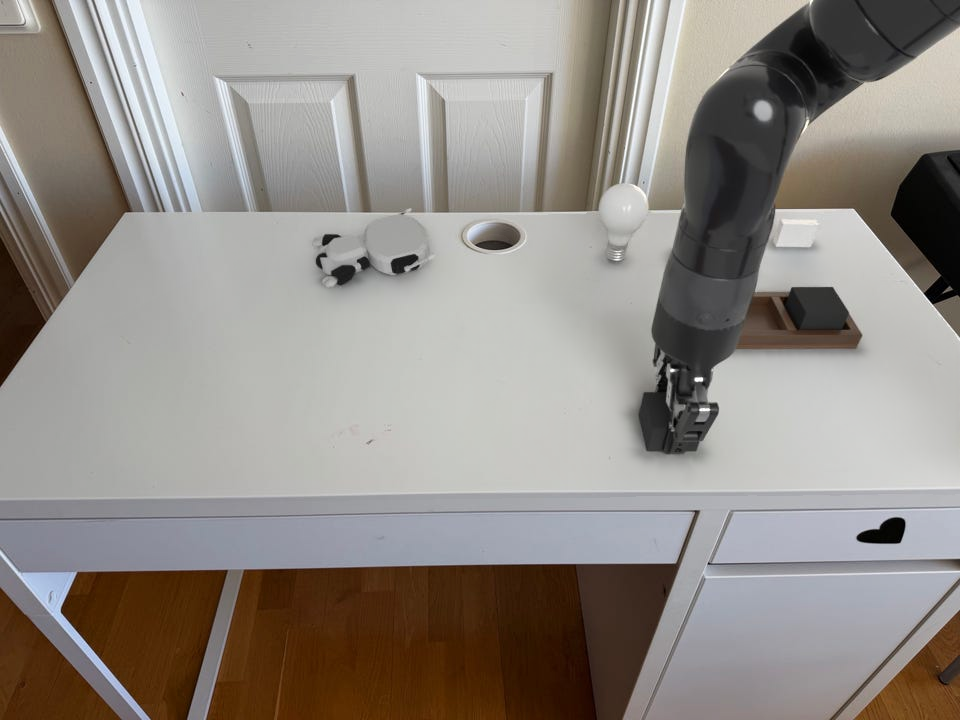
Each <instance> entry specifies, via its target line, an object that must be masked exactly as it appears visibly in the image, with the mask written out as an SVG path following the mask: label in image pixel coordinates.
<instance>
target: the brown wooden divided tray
mask: <svg viewBox="0 0 960 720" xmlns="http://www.w3.org/2000/svg"><path fill="white" fill-rule="evenodd" d="M789 293H790V291H755V293H754V296H753V299H752V302H751V305H750V308H749V311H748V314H747V317H746V320H745V323H744V325H743V328H742V331H741V334H740V337H739V340H738V343H737V346H736V349H735V350H806V349H807V350H813V349H814V350H819V349H820V350H825V349H827V350H829V349H830V350H831V349H833V350H837V349H839V350H841V349H843V350H844V349H845V350H846V349H849V350H850V349H851V350H853V349H854V350H855V349H857V348H858V346H859V344H860V342H861V340H862V338H863V333H862V332H861V330H860V329H859V327H858V325H857V324H856V322H855V321H854V319H853V318H852V316H851V314H850V313H849V315H848V317H847V319H846V321H845V323H844V325H843V328H842V330H796V328H795V326H794V324H793V322H792V320H791V319H790V317H789V315H788V313H787V311H786V309H785V307H784V306H785V303H786V301H787V298H788V296H789Z"/></svg>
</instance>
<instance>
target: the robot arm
mask: <svg viewBox="0 0 960 720" xmlns="http://www.w3.org/2000/svg"><path fill="white" fill-rule="evenodd" d="M959 28H960V0H809V2H807V3H806V4H804V5H803V6H802V7H800V8H799V9H797V10H796V11H795V12H793V13H792V14H791V15H790V16H788V17H787V18H786V19H785V20H783V21H782V22H780V23H779V24H778V25H777V26H775V27H774V28H772V29H771V31H770V32H768V33H767V34H766V35H764V36H763V37H762V38H761V39H759V40H758V41H757V42H756V43H755V44H753V45H752V46H751V47H749V48H748V49H747V50H746V51H745V52H743V54H742V55H740V56H739V57H738V58H737V59H735V61H734V62H732V63H731V65H730V66H728V68H727V69H726V70H724V72H722V74H720V76H719V77H718V78H717V79H716V80H715V81H714V82H713V83H712V84H711V85H710V86H709V88H708V89H707V90H706V91H705V93H704V94H703V95H702V97H701V98H700V100H699V102H698V104H697V106H696V108H695V110H694V113H693V116H692V119H691V123H690V127H689V130H688V135H687V141H686V147H685V154H684V173H683V174H684V176H683V195H684V196H683V197H684V201H683V203H682V207H681V210H680V214H679V217H678V222H677V226H676V230H675V235H674V239H673V242H672V243H673V244H672V248H671V252H670V254H669V256H668V259H667V262H666V264H665V267H664V270H663V275H662V279H661V284H660V288H659V293H658V298H657V302H656V306H655V310H654V314H653V315H654V316H653V319H652V323H651V329H650V330H651V337H652V340H653V342H654V345H655V346H654V349H653V350H654V351H653V357H652V364H653V368H656V372H655V375H654V380H655V383H656V385H655V390H654V392H667V395H666V404H667V406H668V407H669V409H670V415H669V423H668V427H667V431H666V435H665V438H664V442H663V446H662V448H663V451H662V452H663V454H665V455H684V454H685V453H686V452H687V451H686V449H687V446H688V443H689V442H697V441H700V442H703V441H704V440H705V438H706V436H707V435H708V433H709V432H710V429H711V428H712V426H713V424H714V423H715V422H716V419H717V417H718V416H719V412H720V406H719V403H718V401H717V402H716V401H714V402H713V401H709V400H708V394H709V393H708V392H709V388H710V385H711V383H712V381H713V376H714V368H715V367H717V366H718V365H720V364H721V363H723V362H724V361H726V360H727V359H729V358H730V357H732V355H733V354H734V352H735V351H736V350H737V349H736V346H737V343H738V340H739V337H740V334H741V331H742V328H743V325H744V323H745V320H746V317H747V314H748V311H749V308H750V305H751V302H752V299H753V296H754V293H755V292H756V288H757V285H758V279H759V272H760V268H761V263H762V261H763V258H764V255H765V252H766V250H767V246H768V243H769V241H770V237H771V234H772V232H773V227H774V223H775V219H776V203H775V200H776V197H777V195H778V192H779V188H780V186H781V182H782V179H783V177H784V174H785V172H786V170H787V169H786V168H787V166H788V163H789V161H790V159H791V157H792V154H793V152H794V149H795V147H796V145H797V143H798V142H799V140H800V138H801V137H802V136H803V133H804V132H805V130H806V129H807V127H808V126H809V125H811V124H812V123H813V122H814V121H815V120H817V119H818V118H819V117H820V116H821V115H822V114H824V113H825V112H826V111H828V110H829V109H831V108H832V107H833V106H834V105H835V104H837V103H838V102H840V101H842V100H843V99H844V98H845V97H847V96H848V95H850V94H851V93H853V92H854V91H855V90H856V89H858V88H860V87H861V86H862V85H863V84H866V83H867V84H869V83H875V82H879V81H881V80H883V79H885V78H887V77H889V76H891V75H893V74H895V73H896V72H898V71H899V70H901V69H902V68H904V67H906V66H907V65H909V64H910V63H912V62H913V61H914V60H916V59H917V58H918V57H920V56H921V55H923V54H925V53H926V52H927V51H929V50H930V49H931V48H933V47H934V46H935V45H937V44H938V43H940V42H941V41H942V40H944V39H946V38H947V37H948V36H950V35H951V34H953V33H954V32H955V31H957V30H958V29H959ZM676 394H677V395H679V396H692V399H676ZM680 411H683V413H682V415H681V417H680V419H678V414H679V412H680Z"/></svg>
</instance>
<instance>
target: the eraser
mask: <svg viewBox="0 0 960 720" xmlns="http://www.w3.org/2000/svg"><path fill="white" fill-rule="evenodd" d="M819 226H820V224H819V222H818V220H817V219H780V220H779V223H778V226H777V230H776V232H775V235H774V237H773V241H772V243H773V245H774V246H775V248H812V246H813V242H814V240H815V237H816V234H817V232H818V229H819Z"/></svg>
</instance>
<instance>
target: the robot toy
mask: <svg viewBox="0 0 960 720" xmlns="http://www.w3.org/2000/svg"><path fill="white" fill-rule="evenodd" d="M412 210H413V208H411V207H410V208H407V209H405V210H404V211H401V212H399V213H398V214H395V215H394V214H393V215H390V216H385V217H381V218H377V219H373V220H372V222H370V223H369V224H368V225H367V226H366V227H365V229H364V232H363V237H362V236H360V235H358V234H355V235H347V236H341V235H339V234H338V233H325V234H324V235H322V236H316V237H314V238H313V240H312V241H311V246H313V247H314V248H317V249H318V248H319V249H318V251H317V252H318V254H317V256H316V257H315V264H316V267H318V268H319V269H321V270H322V271H323V273H324V274H326V275H327V276H325V277H324V278H323V279H322V281H321V283H322V285H323V286H325V287H326V288H328V289H331V288H334V287H335V286H336V285H337V286H340V287H341V286H343V285H345V284H346V283H348V282H350V281H352V280H353V278H354V276H355V274H358V273H360V272H362V271H366V270H367V269H369V268H370V267H371V266H373V268H375V270H377V271H379V272H381V273H383V274H387V275H389V276H390V275H391V276H396V275H401V274H407V273H409V272H412V271H416V270H417V271H418V270H420V269H421V268H422V267H423V266H424V265H426V263H427V262H428V261H430V260H432V259H434V257H435V254H430V244H429V238H428V233H427V230H426V228H424V226H423V225H422V224H421V222H419V220H417V219H415V218H414V217H411V216H410V215H406V214H408V213H411V212H412Z"/></svg>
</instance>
